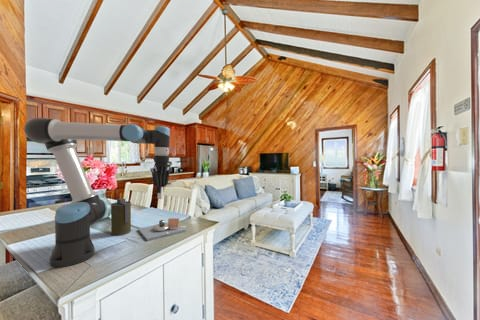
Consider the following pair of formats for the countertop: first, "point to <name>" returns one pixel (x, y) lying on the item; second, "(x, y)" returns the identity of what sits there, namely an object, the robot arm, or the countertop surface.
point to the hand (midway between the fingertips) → (160, 198)
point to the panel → (151, 235)
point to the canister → (120, 217)
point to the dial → (166, 225)
